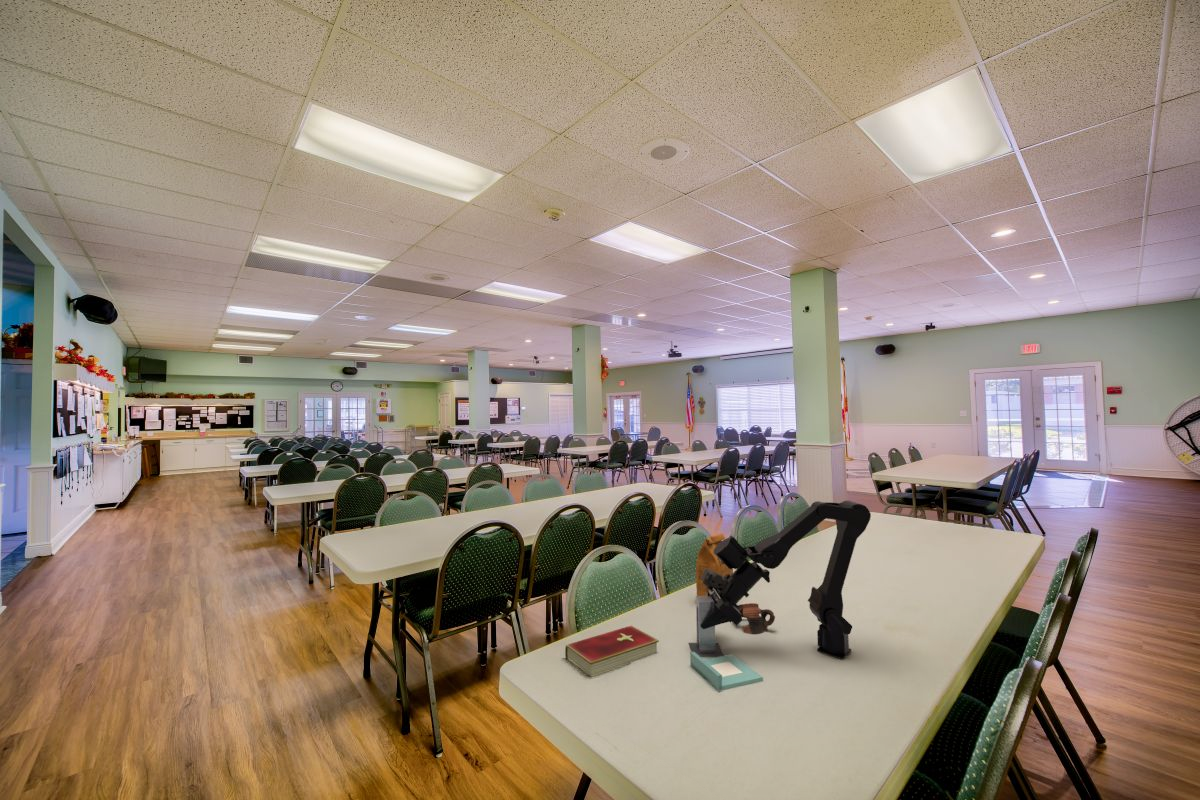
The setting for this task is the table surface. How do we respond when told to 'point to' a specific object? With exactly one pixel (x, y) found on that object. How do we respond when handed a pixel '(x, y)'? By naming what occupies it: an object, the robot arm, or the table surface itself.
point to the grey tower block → (706, 635)
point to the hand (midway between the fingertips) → (700, 623)
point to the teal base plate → (724, 671)
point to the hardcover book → (610, 650)
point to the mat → (717, 654)
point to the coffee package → (709, 562)
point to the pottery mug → (755, 618)
